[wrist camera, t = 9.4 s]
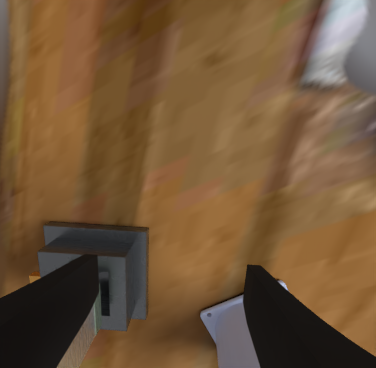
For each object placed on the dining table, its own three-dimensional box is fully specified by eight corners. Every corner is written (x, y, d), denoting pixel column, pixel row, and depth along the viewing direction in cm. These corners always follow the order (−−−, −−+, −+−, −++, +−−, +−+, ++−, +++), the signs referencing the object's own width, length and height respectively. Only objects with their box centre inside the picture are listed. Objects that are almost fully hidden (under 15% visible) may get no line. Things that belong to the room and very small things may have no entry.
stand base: (148, 227, 21) (139, 245, 17) (147, 311, 23) (139, 342, 19) (50, 221, 21) (21, 237, 18) (58, 305, 23) (35, 334, 20)
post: (99, 282, 17) (42, 370, 11) (101, 324, 18) (49, 427, 11) (50, 279, 17) (-36, 363, 11) (55, 320, 18) (-22, 420, 12)
